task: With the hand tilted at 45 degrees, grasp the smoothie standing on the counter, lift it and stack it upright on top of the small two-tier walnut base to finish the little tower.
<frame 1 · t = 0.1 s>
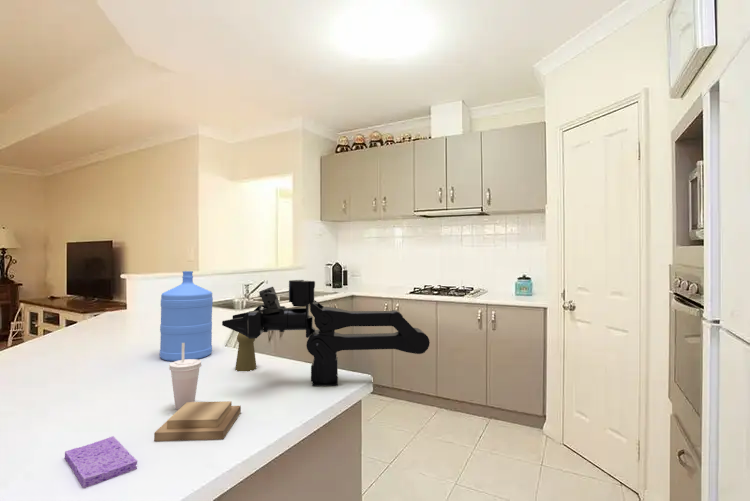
hand: (227, 320, 101), 17 cm above the countertop, tool horizontal, fingers open, 9 cm apart
smoothie: (184, 407, 85), on the countertop
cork: (245, 369, 115), on the countertop
sponges: (100, 467, 62), on the countertop
water jug: (186, 356, 129), on the countertop
walnut base: (201, 425, 76), on the countertop
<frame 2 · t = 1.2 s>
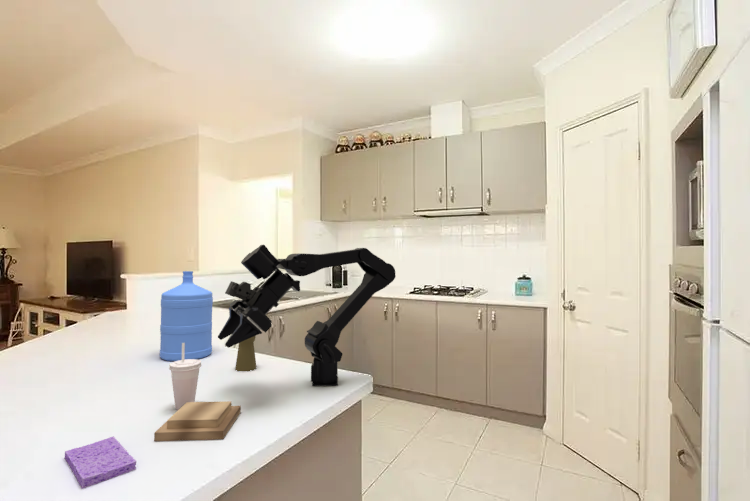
hand: (222, 342, 90), 13 cm above the countertop, tool tilted 45°, fingers open, 9 cm apart
nothing on the countertop moved.
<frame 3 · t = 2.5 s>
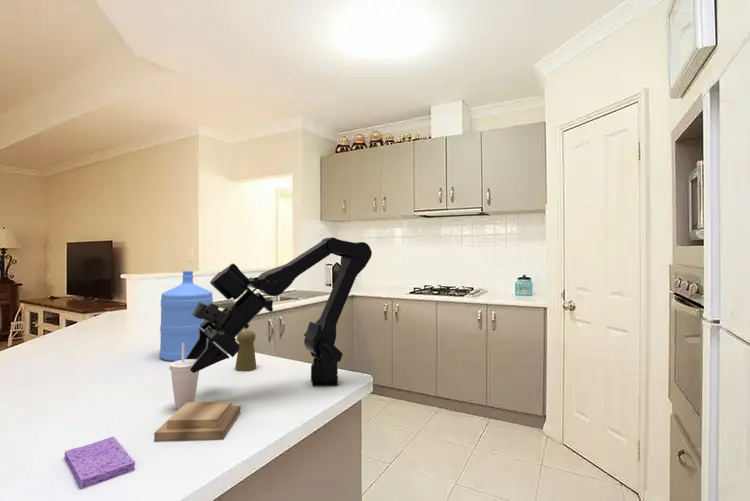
hand: (189, 366, 86), 9 cm above the countertop, tool tilted 45°, fingers open, 9 cm apart
nothing on the countertop moved.
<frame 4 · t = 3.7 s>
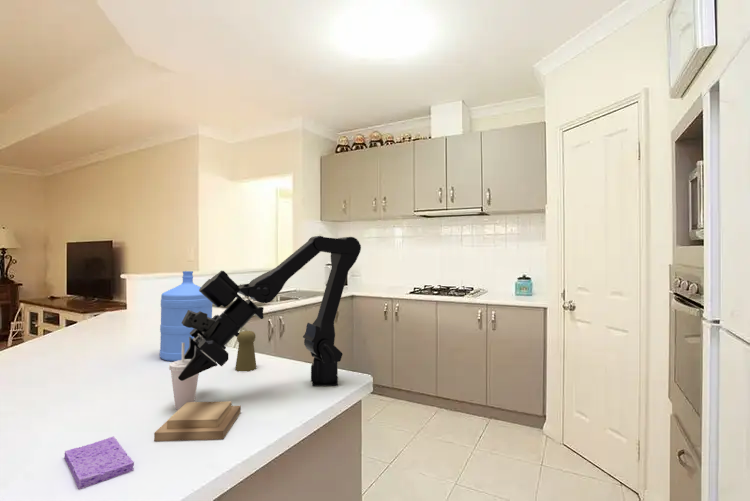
hand: (178, 375, 85), 7 cm above the countertop, tool tilted 45°, fingers closed on smoothie, 6 cm apart
smoothie: (184, 407, 85), on the countertop, touching gripper
everything else where it was.
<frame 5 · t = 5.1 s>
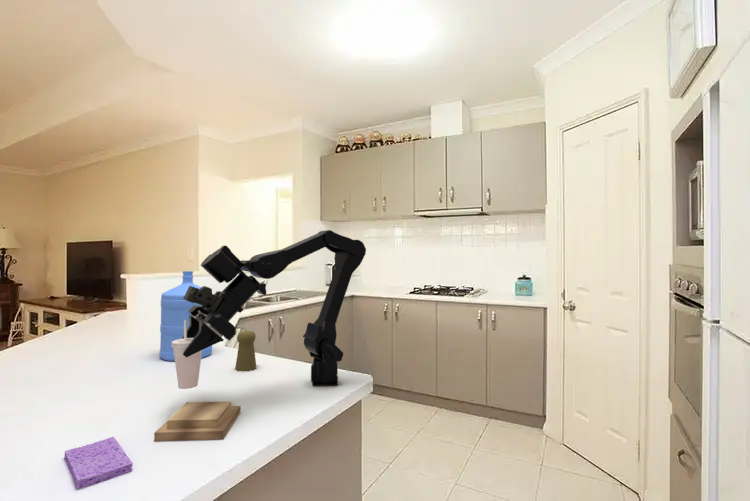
hand: (181, 352, 82), 13 cm above the countertop, tool tilted 45°, fingers closed on smoothie, 6 cm apart
smoothie: (188, 387, 83), point 5 cm above the countertop, touching gripper
everything else where it was.
when the fingers open (11 cm above the countertop, at t = 6.5 s): smoothie stays where it is, resting on walnut base.
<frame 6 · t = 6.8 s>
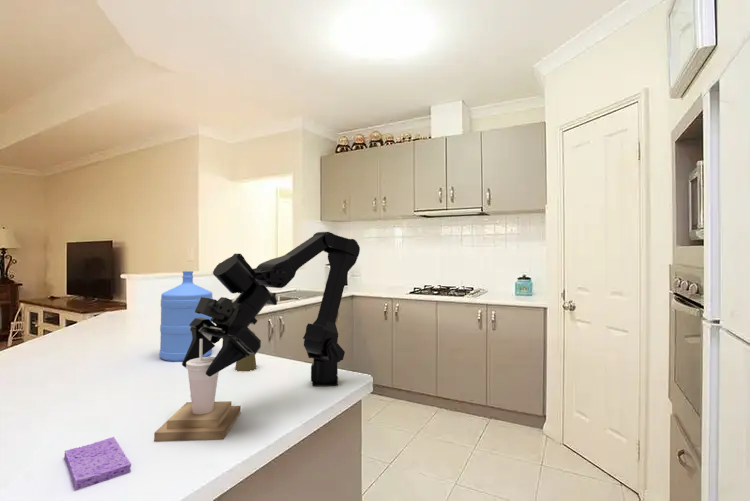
hand: (195, 370, 75), 11 cm above the countertop, tool tilted 45°, fingers open, 9 cm apart
smoothie: (203, 411, 76), point 3 cm above the countertop, touching walnut base
everything else where it was.
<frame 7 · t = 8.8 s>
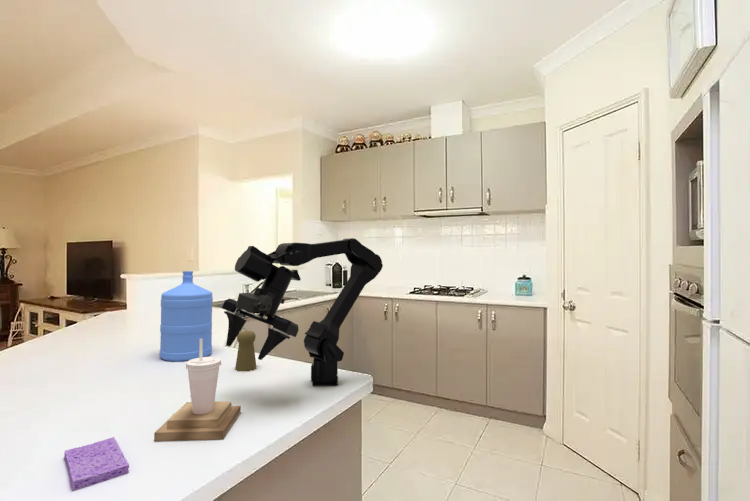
hand: (243, 352, 88), 11 cm above the countertop, tool tilted 25°, fingers open, 9 cm apart
nothing on the countertop moved.
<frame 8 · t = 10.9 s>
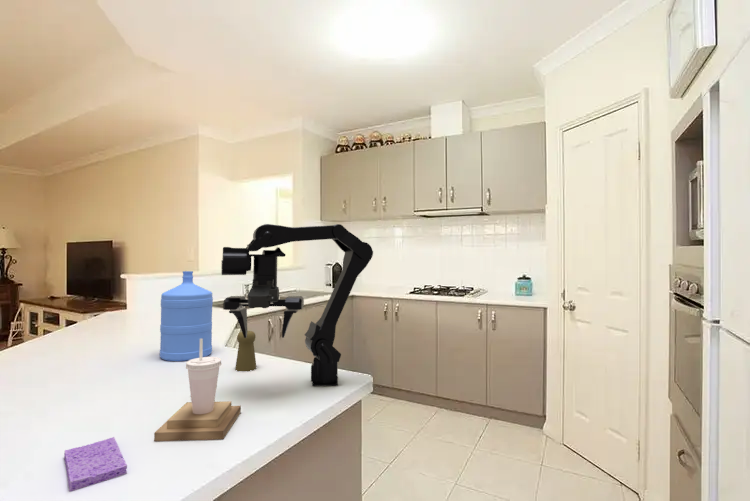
hand: (264, 337, 97), 13 cm above the countertop, tool pointing down, fingers open, 9 cm apart
nothing on the countertop moved.
at the end: smoothie inside the target area on the walnut base (0.4 cm from its centre), point 2.8 cm above the walnut base's base; smoothie tilted 0°; the gripper is holding nothing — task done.
